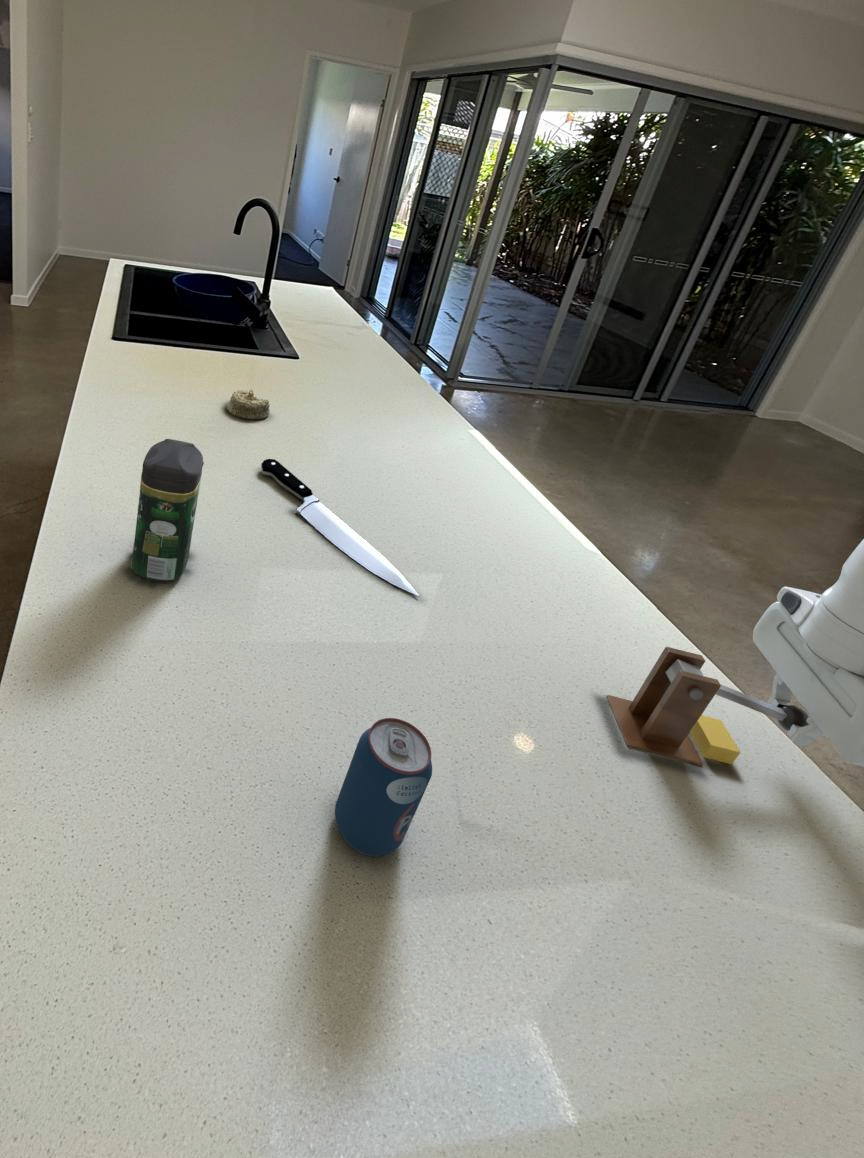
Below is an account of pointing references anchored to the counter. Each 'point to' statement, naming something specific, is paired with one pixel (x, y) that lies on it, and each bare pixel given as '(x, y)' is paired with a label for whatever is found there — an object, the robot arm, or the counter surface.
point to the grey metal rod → (748, 699)
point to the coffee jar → (166, 510)
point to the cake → (248, 405)
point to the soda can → (383, 786)
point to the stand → (666, 708)
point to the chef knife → (335, 527)
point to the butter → (714, 740)
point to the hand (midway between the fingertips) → (785, 725)
